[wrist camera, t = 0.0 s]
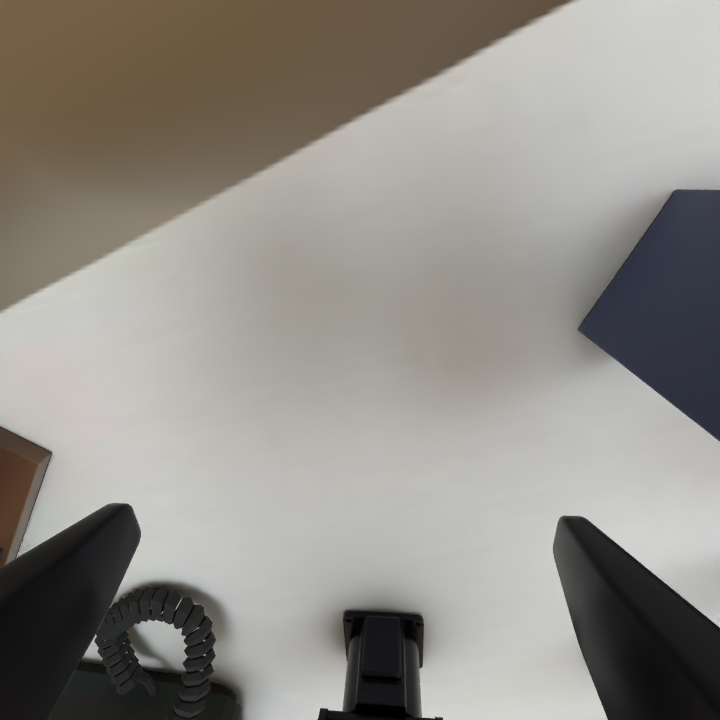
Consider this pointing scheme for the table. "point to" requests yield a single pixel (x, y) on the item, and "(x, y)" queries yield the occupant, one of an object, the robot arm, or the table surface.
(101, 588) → the robot arm
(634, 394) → the table surface
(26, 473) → the book rack
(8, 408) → the table surface
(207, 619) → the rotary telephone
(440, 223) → the table surface
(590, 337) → the navy book
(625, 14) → the table surface
